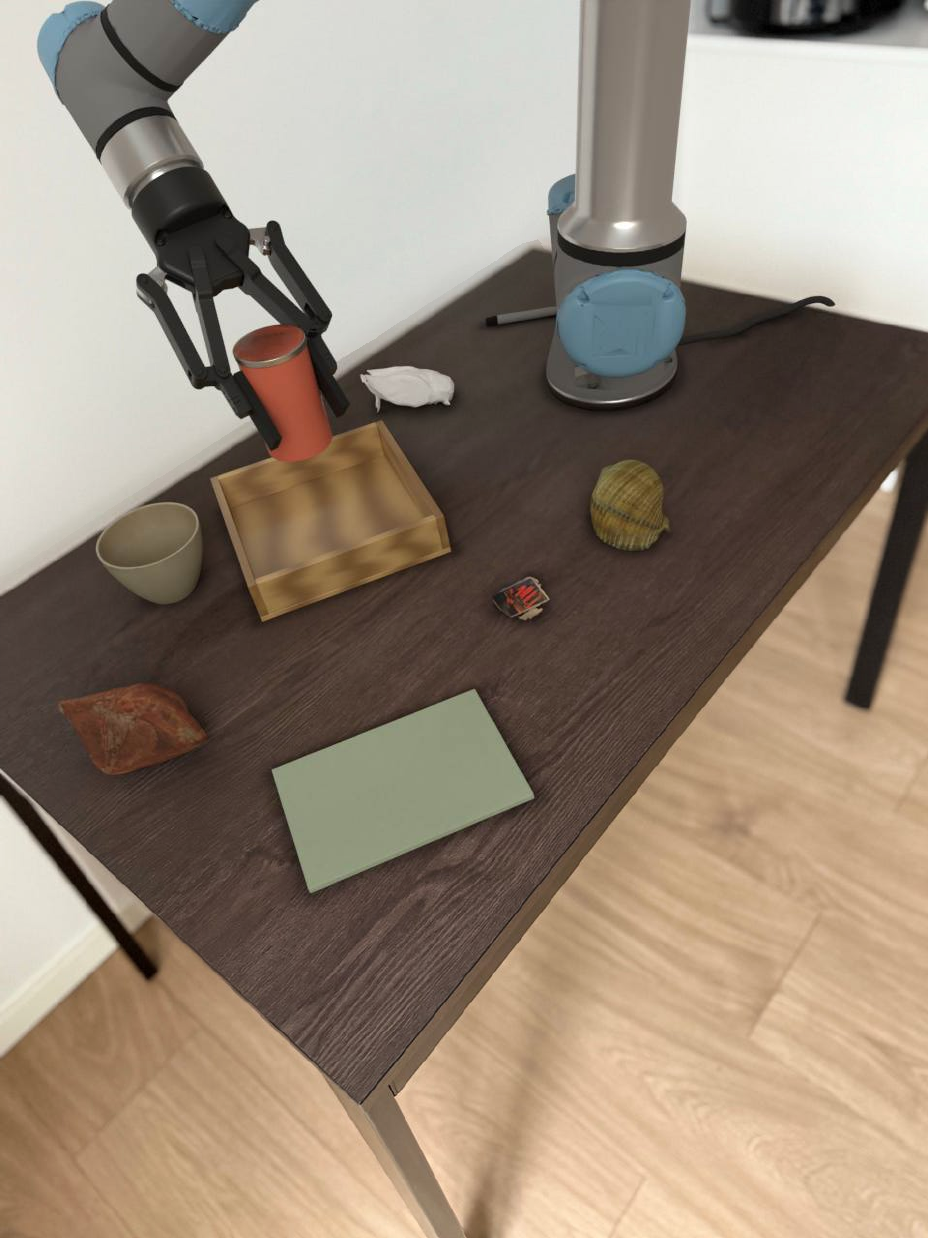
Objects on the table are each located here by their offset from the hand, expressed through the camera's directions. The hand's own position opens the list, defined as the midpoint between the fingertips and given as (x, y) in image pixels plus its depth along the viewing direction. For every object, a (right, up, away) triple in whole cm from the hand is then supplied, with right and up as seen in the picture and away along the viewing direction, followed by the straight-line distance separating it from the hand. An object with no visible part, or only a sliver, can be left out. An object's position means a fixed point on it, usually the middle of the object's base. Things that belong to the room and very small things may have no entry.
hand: (310, 427), depth 82 cm
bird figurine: (+8, +9, +33) cm, 35 cm away
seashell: (+30, -7, +12) cm, 33 cm away
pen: (+24, +23, +44) cm, 55 cm away
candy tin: (-2, 0, +5) cm, 5 cm away
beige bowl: (-16, -13, +15) cm, 26 cm away
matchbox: (+19, -15, +6) cm, 25 cm away
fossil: (-14, -28, 0) cm, 31 cm away
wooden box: (-1, -7, +18) cm, 19 cm away
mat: (+8, -30, -7) cm, 31 cm away
